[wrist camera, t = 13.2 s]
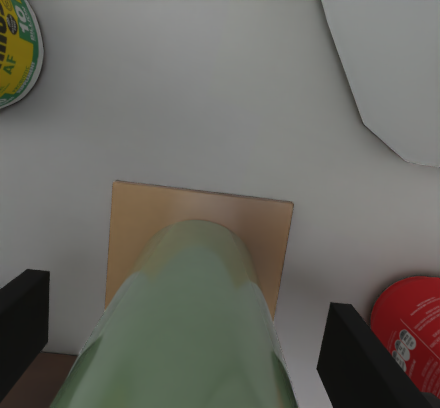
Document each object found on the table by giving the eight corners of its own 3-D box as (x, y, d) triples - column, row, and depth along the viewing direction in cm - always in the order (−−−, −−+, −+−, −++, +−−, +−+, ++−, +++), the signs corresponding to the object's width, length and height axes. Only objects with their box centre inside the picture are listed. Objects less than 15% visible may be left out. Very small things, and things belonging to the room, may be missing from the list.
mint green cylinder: (130, 326, 16) (-26, 695, 6) (139, 212, 15) (-33, 406, 5) (247, 338, 17) (308, 714, 6) (264, 226, 16) (380, 444, 5)
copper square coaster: (104, 339, 17) (102, 345, 17) (115, 180, 16) (112, 181, 15) (265, 355, 18) (266, 362, 17) (291, 201, 16) (294, 203, 15)
